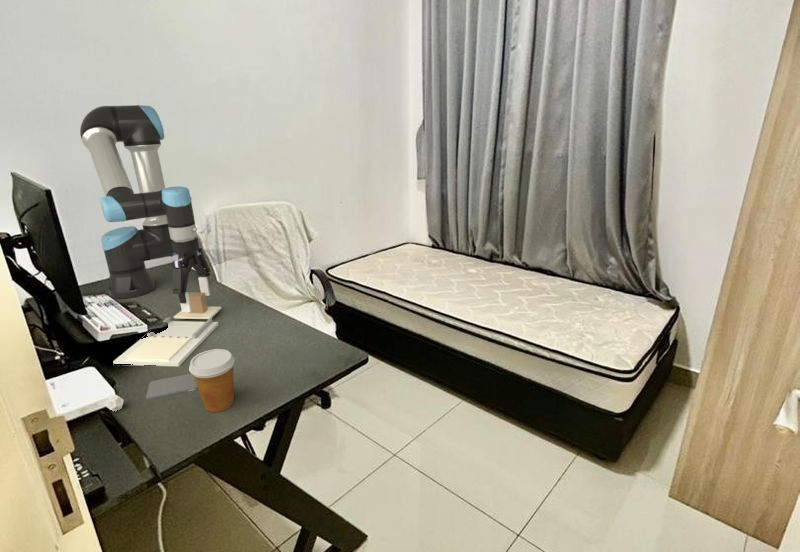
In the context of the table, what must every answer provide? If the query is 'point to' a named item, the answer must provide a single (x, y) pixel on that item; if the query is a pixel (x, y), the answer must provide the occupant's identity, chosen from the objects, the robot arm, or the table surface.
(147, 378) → the table surface
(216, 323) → the ticket board
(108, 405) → the game die
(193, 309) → the tabbed cream panel
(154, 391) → the smartphone
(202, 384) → the disposable coffee cup
